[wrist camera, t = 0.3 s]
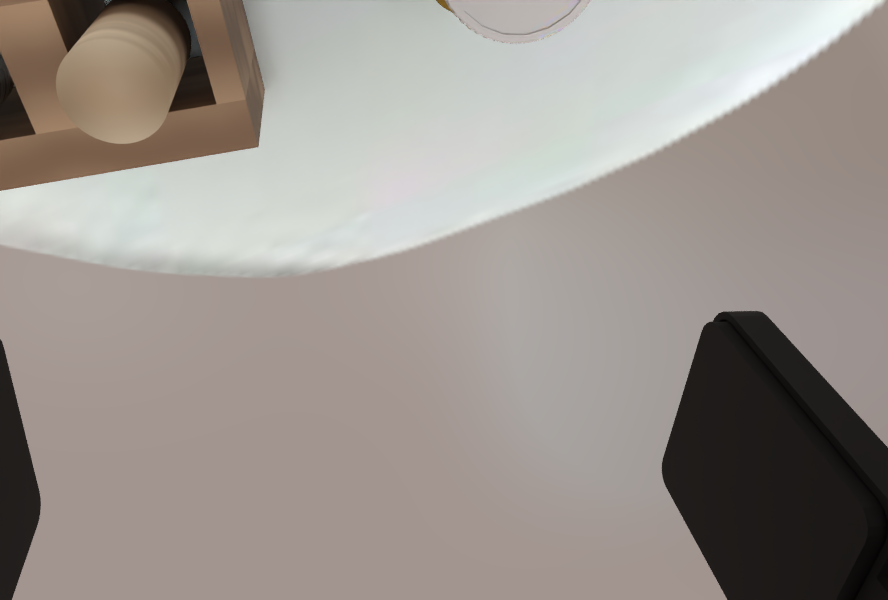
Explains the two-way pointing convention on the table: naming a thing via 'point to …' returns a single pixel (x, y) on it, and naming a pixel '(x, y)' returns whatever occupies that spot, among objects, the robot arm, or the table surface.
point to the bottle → (515, 17)
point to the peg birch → (125, 70)
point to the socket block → (78, 154)
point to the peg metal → (5, 81)
